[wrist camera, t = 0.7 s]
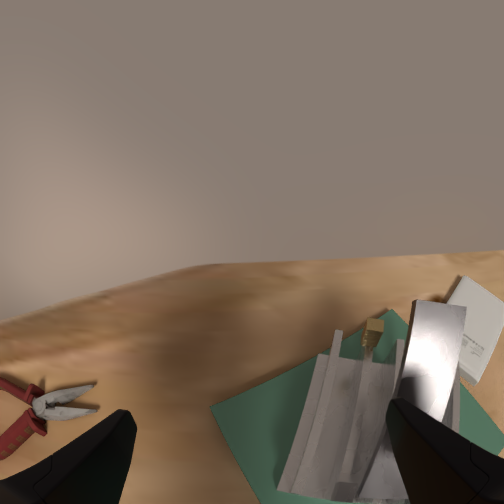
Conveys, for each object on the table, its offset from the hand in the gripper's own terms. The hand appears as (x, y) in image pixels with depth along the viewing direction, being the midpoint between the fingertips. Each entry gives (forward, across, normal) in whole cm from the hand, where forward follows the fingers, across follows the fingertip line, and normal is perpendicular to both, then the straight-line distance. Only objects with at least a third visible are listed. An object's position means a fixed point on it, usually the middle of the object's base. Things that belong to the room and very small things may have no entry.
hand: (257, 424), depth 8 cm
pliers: (+6, +26, +14) cm, 30 cm away
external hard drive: (+16, -23, +9) cm, 29 cm away
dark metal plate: (+3, -8, +4) cm, 9 cm away
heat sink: (+7, -8, +12) cm, 16 cm away
